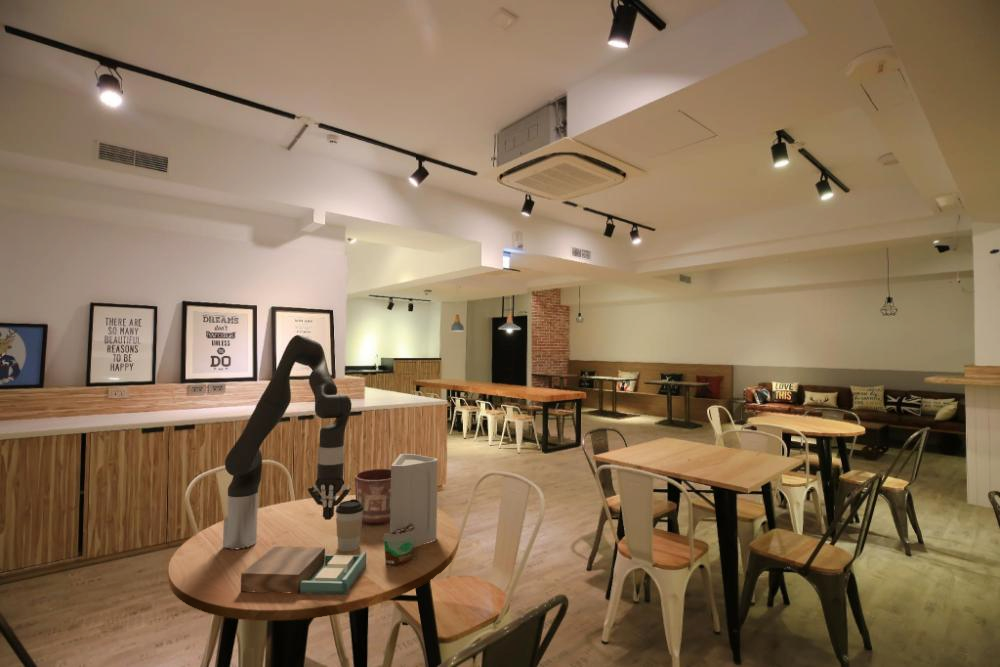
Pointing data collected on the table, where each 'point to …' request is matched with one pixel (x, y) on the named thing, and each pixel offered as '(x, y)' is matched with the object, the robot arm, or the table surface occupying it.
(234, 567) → the table surface
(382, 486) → the pottery
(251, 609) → the table surface
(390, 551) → the food container
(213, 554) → the table surface
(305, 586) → the tray
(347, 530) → the coffee cup
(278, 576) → the walnut board
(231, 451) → the robot arm
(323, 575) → the tile
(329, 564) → the tile
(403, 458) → the white wifi router
